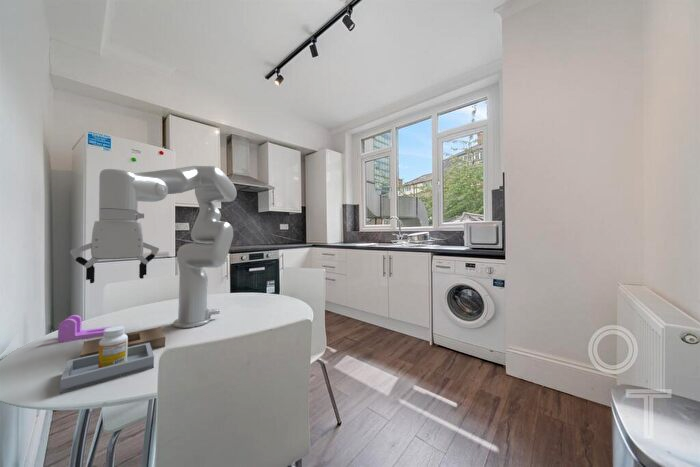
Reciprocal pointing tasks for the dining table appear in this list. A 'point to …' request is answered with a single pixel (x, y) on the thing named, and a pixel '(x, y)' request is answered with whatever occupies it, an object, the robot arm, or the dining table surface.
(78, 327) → the bracket
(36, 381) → the dining table surface
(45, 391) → the dining table surface
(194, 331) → the dining table surface
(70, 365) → the parts tray
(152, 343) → the socket holder
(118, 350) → the supplement bottle
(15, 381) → the dining table surface
